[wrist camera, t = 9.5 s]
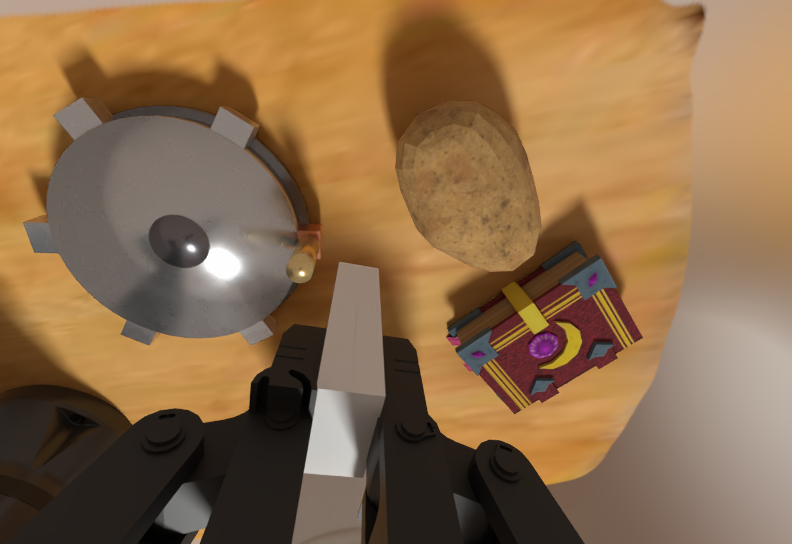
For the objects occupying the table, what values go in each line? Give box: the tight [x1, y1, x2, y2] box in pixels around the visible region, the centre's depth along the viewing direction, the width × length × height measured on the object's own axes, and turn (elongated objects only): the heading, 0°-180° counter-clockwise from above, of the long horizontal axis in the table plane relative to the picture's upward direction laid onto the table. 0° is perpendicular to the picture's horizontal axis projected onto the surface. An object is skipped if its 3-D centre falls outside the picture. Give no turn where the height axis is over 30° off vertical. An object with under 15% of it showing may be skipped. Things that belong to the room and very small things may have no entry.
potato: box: [395, 100, 541, 272], centre depth 28 cm, size 10×14×8 cm
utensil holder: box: [292, 470, 366, 544], centre depth 34 cm, size 15×15×18 cm
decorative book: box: [446, 241, 643, 414], centre depth 36 cm, size 11×16×5 cm
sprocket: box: [23, 97, 323, 346], centre depth 27 cm, size 21×20×7 cm
